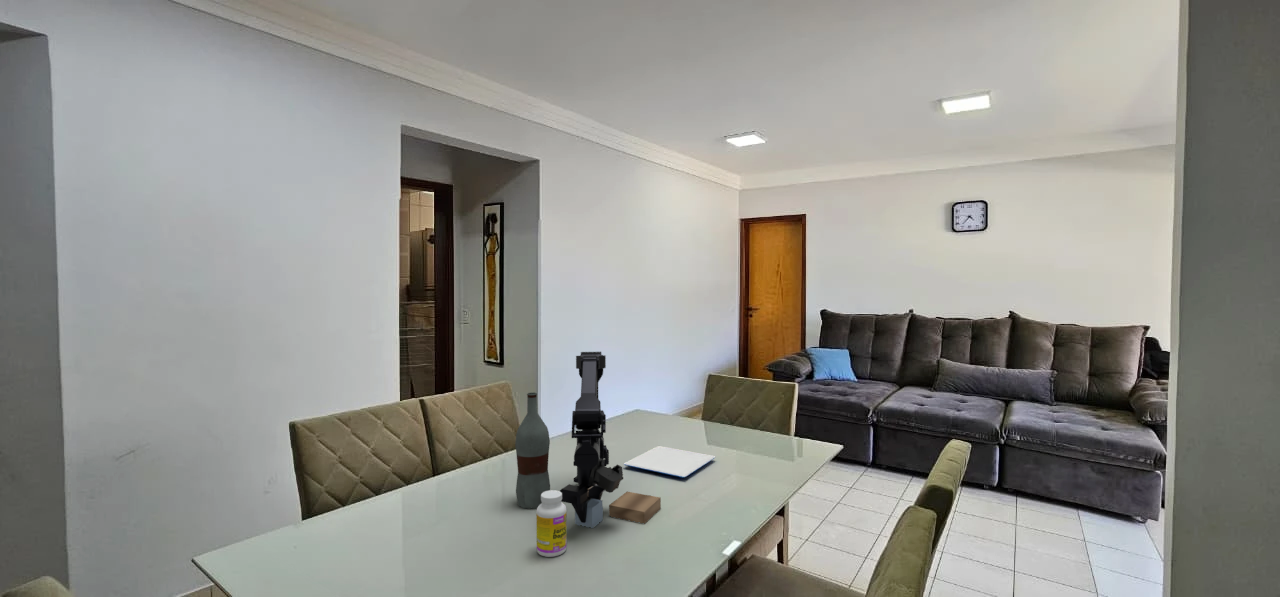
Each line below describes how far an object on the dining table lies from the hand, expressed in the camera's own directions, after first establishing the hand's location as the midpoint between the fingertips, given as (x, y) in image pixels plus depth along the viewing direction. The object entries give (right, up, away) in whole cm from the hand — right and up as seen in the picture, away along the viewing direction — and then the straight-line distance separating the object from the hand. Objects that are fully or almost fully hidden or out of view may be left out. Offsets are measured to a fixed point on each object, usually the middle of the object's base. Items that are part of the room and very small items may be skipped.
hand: (588, 518), depth 137 cm
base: (+12, -1, +6) cm, 13 cm away
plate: (+23, 0, +42) cm, 48 cm away
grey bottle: (-16, -1, +12) cm, 20 cm away
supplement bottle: (-7, -2, -14) cm, 16 cm away
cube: (0, -1, 0) cm, 1 cm away
